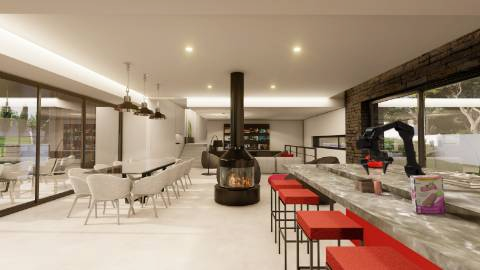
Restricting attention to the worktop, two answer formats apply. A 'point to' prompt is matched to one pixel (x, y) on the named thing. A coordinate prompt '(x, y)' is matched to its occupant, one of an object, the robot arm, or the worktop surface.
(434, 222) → the worktop surface
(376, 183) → the peg
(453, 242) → the worktop surface
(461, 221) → the worktop surface
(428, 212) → the candy bar box
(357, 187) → the bored tray
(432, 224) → the worktop surface
